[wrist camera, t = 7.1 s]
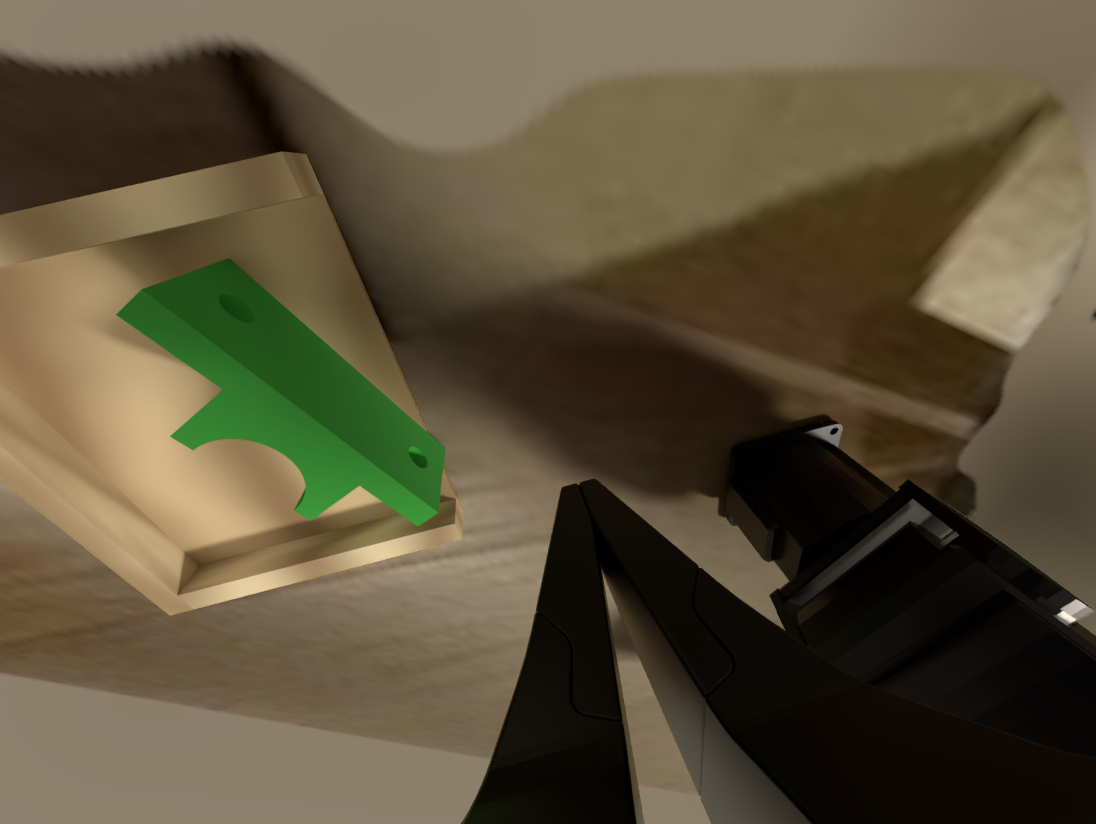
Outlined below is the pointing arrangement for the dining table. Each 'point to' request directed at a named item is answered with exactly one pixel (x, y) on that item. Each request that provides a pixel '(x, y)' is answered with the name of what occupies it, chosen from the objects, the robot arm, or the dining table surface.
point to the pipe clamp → (288, 393)
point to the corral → (183, 385)
